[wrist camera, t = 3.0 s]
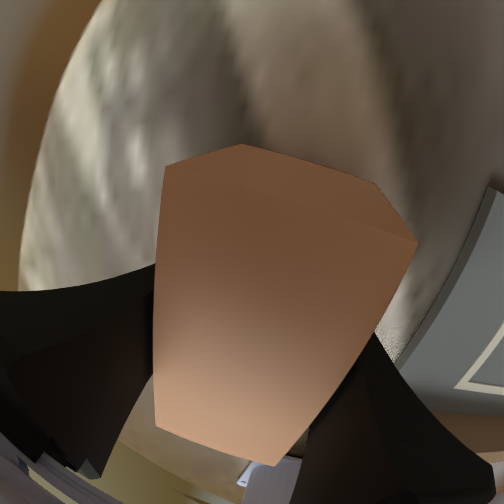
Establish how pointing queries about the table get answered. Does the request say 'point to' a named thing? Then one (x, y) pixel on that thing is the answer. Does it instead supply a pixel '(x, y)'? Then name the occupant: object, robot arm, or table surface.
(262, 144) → the table surface
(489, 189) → the arena
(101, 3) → the table surface
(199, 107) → the table surface
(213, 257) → the terracotta block
